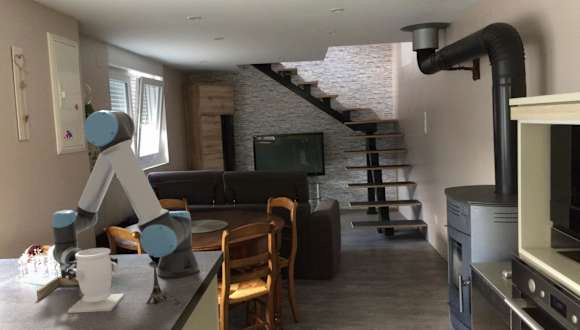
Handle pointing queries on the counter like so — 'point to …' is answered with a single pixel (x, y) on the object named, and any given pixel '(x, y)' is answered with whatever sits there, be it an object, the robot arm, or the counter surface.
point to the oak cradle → (54, 284)
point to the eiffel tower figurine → (159, 293)
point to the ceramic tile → (96, 304)
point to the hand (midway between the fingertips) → (99, 272)
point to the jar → (95, 273)
